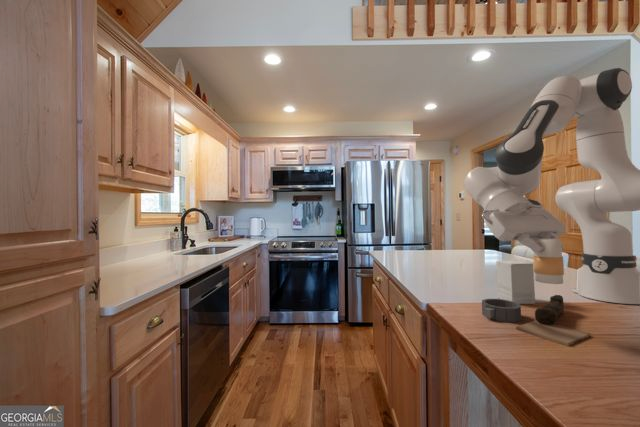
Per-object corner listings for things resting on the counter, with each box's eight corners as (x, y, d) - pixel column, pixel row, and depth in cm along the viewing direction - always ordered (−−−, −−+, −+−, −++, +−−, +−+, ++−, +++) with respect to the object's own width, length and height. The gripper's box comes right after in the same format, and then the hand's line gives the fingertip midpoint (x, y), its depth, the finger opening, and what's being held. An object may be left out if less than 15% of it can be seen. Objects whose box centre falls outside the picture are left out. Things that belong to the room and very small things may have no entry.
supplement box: (536, 304, 84) (534, 263, 84) (512, 304, 84) (510, 263, 84) (519, 297, 91) (517, 259, 91) (497, 297, 91) (495, 260, 91)
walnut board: (538, 321, 70) (538, 319, 70) (590, 336, 61) (590, 333, 61) (516, 329, 65) (515, 326, 65) (568, 346, 56) (567, 343, 56)
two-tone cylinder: (541, 278, 67) (539, 237, 67) (569, 282, 62) (567, 239, 62) (529, 280, 65) (527, 239, 65) (557, 285, 60) (554, 240, 60)
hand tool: (555, 327, 64) (555, 307, 64) (534, 322, 67) (534, 303, 67) (573, 313, 75) (573, 296, 76) (554, 309, 79) (554, 293, 79)
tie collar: (494, 308, 80) (494, 297, 80) (528, 318, 72) (527, 305, 72) (471, 314, 76) (471, 302, 76) (504, 325, 68) (504, 311, 68)
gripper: (485, 201, 68) (526, 243, 58) (543, 201, 73) (590, 239, 64) (471, 219, 72) (508, 261, 62) (527, 218, 78) (569, 256, 68)
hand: (550, 250), depth 63 cm, fingers closed on two-tone cylinder, 5 cm apart
